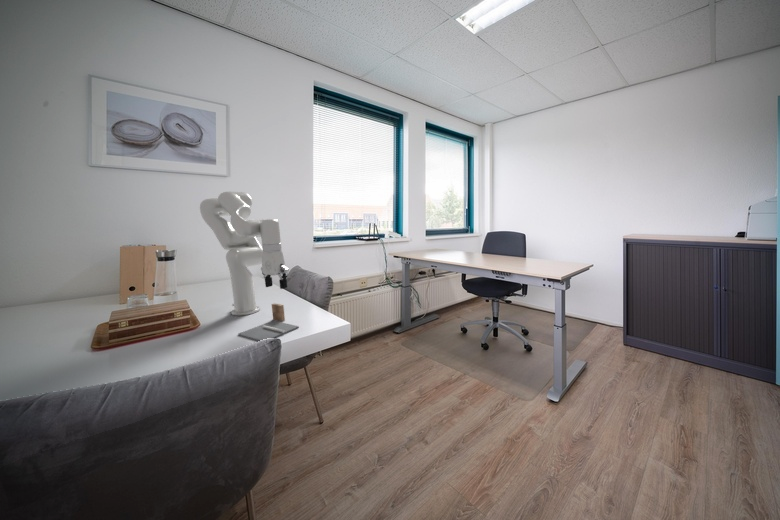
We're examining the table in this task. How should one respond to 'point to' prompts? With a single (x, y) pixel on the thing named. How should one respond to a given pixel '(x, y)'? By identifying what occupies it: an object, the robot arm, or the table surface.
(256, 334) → the mat
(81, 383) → the table surface
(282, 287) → the robot arm
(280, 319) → the tile
